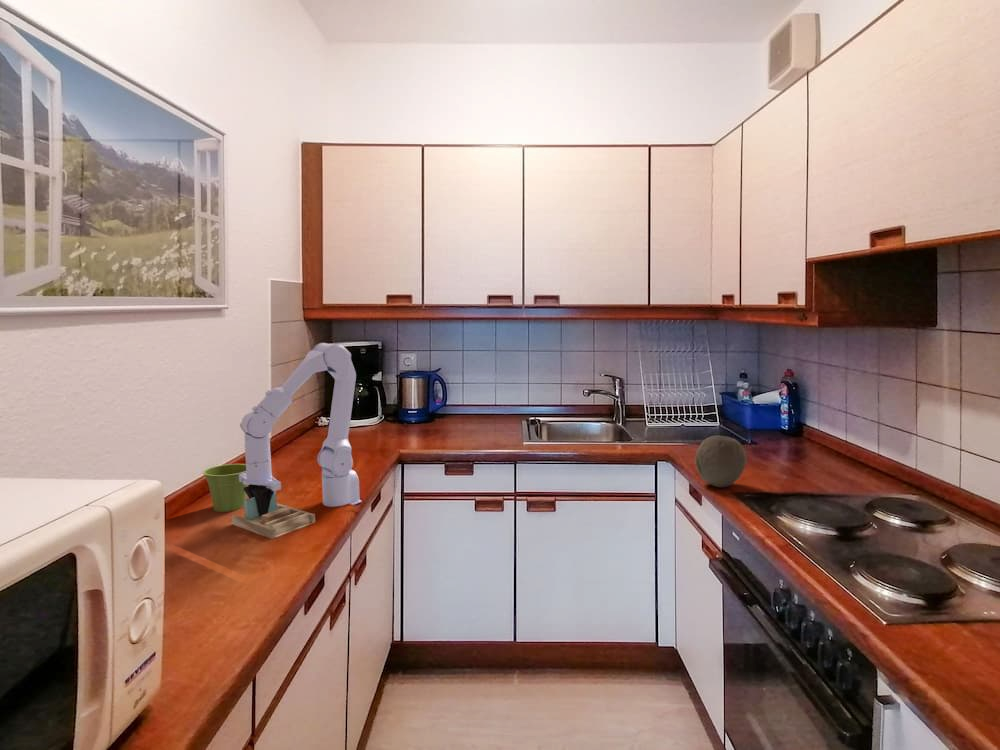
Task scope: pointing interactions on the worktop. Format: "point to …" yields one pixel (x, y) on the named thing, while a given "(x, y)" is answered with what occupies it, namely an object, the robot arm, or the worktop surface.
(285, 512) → the offcut upper
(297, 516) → the rack
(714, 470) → the cantaloupe
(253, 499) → the teal rectangular plate
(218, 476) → the plant pot
